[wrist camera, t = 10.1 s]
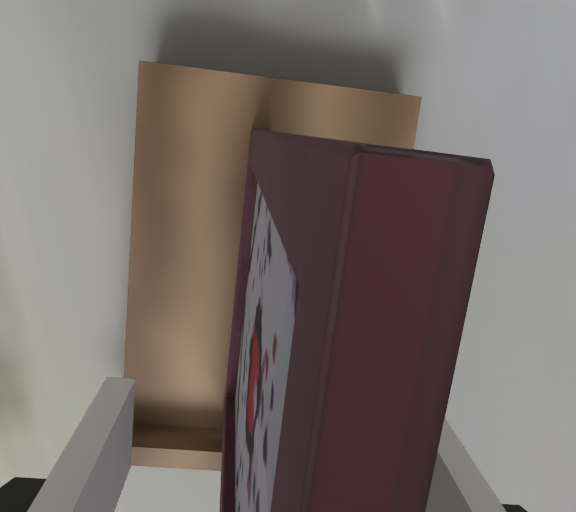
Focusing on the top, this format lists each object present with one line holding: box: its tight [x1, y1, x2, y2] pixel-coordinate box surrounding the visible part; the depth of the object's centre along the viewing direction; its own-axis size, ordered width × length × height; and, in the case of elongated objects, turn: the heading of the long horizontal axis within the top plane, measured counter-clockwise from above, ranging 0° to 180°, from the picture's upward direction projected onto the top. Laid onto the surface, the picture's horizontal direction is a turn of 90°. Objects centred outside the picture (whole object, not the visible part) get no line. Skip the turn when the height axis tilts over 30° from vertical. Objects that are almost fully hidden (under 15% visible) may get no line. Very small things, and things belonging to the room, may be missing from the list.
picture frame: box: [220, 129, 495, 512], centre depth 18 cm, size 17×10×25 cm, turn 173°
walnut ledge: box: [124, 61, 422, 471], centre depth 31 cm, size 15×22×6 cm
